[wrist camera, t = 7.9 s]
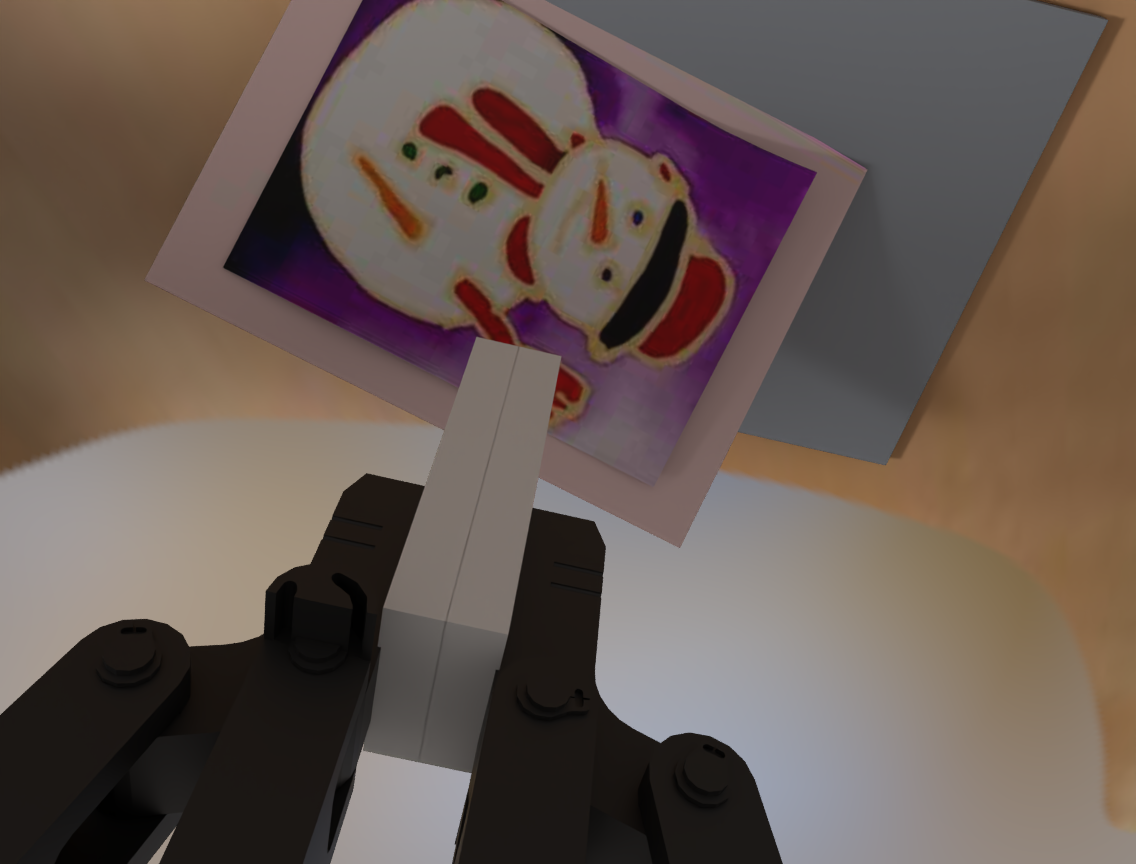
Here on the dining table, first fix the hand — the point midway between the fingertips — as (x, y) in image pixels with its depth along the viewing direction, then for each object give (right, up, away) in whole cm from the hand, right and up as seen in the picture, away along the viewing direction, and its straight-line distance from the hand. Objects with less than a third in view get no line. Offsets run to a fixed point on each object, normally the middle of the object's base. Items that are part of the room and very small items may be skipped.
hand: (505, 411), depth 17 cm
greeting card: (-7, +9, +9) cm, 14 cm away
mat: (+5, +6, +11) cm, 13 cm away
